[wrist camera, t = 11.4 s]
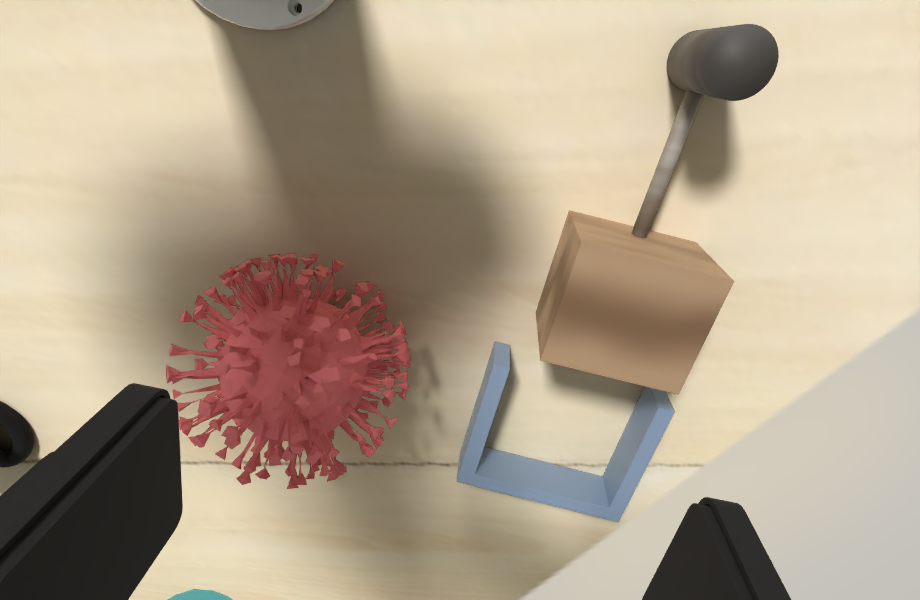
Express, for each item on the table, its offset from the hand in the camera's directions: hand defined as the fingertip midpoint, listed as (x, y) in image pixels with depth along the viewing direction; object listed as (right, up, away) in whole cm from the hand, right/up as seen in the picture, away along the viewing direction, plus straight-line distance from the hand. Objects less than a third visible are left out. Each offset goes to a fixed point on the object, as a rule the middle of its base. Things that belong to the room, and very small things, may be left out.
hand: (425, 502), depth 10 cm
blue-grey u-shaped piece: (+9, -6, +34) cm, 35 cm away
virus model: (-9, +2, +32) cm, 34 cm away
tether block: (+13, +11, +26) cm, 31 cm away
